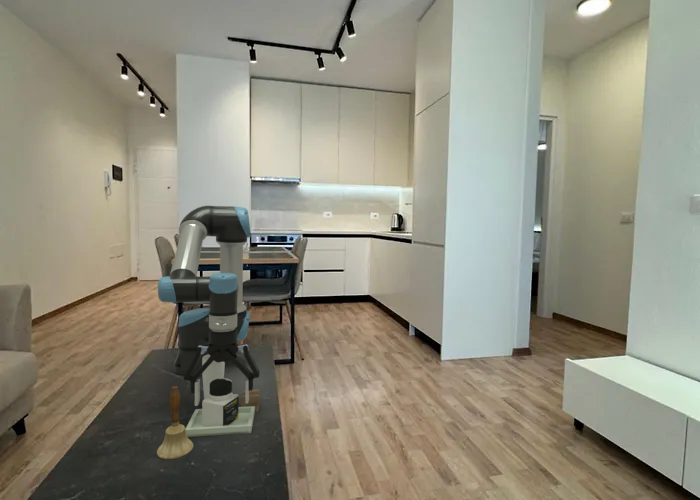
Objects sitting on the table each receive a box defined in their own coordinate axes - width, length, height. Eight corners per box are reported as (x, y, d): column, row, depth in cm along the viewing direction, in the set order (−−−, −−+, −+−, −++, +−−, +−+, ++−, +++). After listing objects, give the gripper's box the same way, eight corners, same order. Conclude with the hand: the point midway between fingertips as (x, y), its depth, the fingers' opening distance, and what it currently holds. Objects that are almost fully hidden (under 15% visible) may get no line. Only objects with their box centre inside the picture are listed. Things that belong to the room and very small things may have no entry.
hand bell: (177, 462, 89) (177, 395, 89) (148, 455, 92) (149, 390, 91) (200, 443, 97) (201, 382, 97) (173, 438, 100) (173, 378, 99)
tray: (195, 415, 112) (195, 409, 112) (254, 412, 115) (254, 406, 115) (184, 437, 100) (184, 429, 100) (251, 433, 103) (251, 425, 103)
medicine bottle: (223, 430, 103) (223, 387, 102) (201, 425, 105) (201, 383, 105) (238, 418, 110) (239, 377, 109) (218, 414, 112) (218, 374, 111)
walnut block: (243, 405, 119) (243, 390, 119) (259, 404, 120) (259, 389, 120) (241, 413, 115) (241, 396, 114) (258, 412, 115) (258, 396, 115)
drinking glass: (216, 409, 116) (217, 361, 116) (197, 406, 118) (197, 359, 117) (228, 400, 123) (228, 354, 122) (209, 397, 124) (209, 352, 124)
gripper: (171, 333, 101) (171, 411, 102) (267, 331, 105) (266, 406, 106) (179, 325, 108) (179, 398, 109) (269, 324, 112) (268, 394, 113)
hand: (222, 402), depth 107 cm, fingers open, 13 cm apart
